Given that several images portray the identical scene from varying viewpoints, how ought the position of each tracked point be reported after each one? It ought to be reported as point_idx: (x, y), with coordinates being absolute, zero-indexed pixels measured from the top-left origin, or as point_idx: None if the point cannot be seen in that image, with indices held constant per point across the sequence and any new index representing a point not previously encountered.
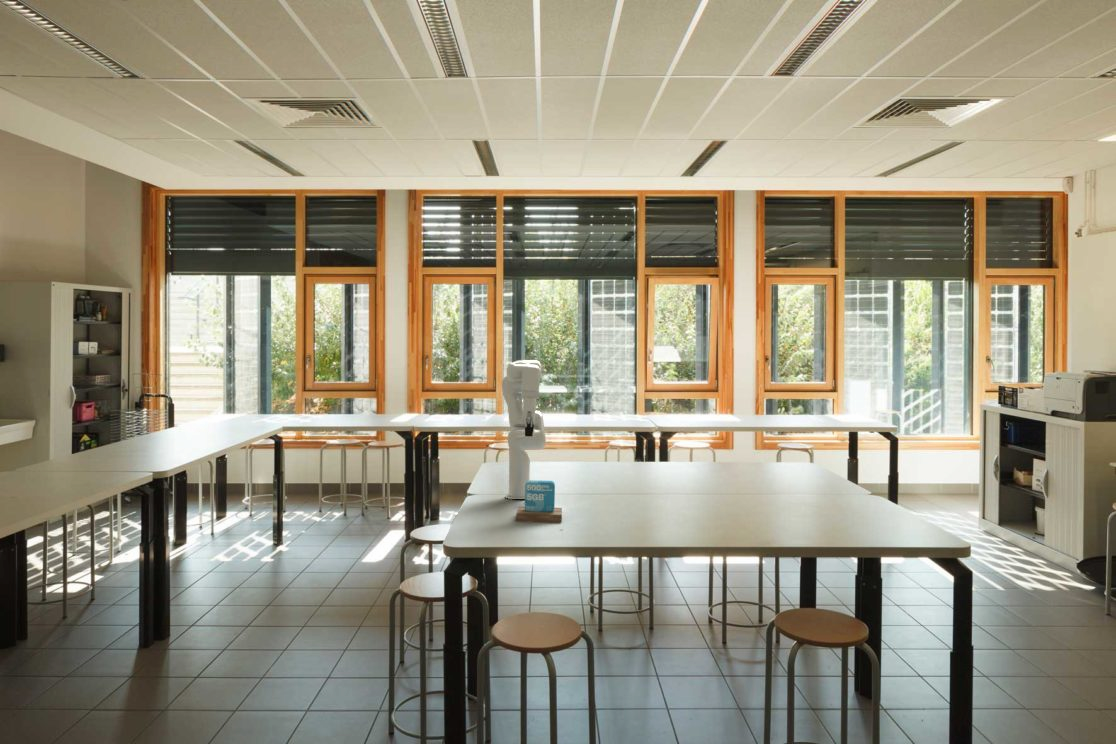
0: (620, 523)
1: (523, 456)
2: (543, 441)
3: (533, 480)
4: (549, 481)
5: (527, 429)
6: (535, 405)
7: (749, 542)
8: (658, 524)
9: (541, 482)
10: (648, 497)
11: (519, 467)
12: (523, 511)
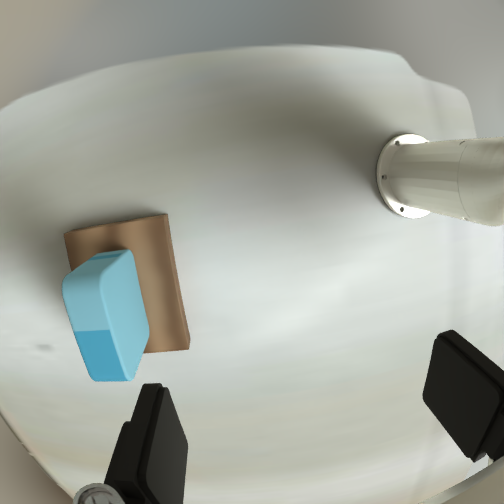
0: None
1: (488, 205)
2: None
3: (101, 310)
4: (107, 370)
5: (113, 471)
6: None
7: None
8: None
9: (78, 344)
10: (409, 443)
11: (451, 184)
12: (100, 247)
